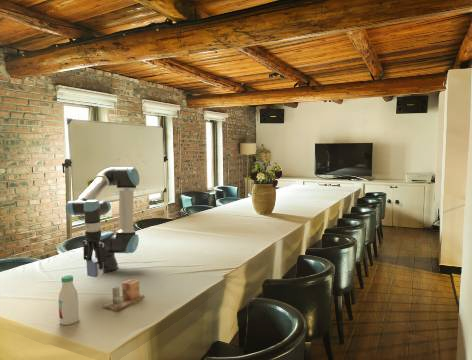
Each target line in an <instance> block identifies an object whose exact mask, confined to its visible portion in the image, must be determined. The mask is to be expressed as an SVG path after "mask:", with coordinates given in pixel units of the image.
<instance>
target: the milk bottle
mask: <svg viewBox="0 0 472 360" xmlns="http://www.w3.org/2000/svg"><path fill="white" fill-rule="evenodd" d="M61 284H62V285H61V288H60V291H59V294H58V315H59V317H58V318H59V319H58V320H59V323H60V325H63V326H68V325H72V324H75V323H77V322H78V321H79V319H80V311H79V310H80V309H79V296H78V290H77V289H76V287H75V285H74V275H70V274H69V275H64V276H62V277H61Z"/></svg>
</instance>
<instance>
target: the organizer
mask: <svg viewBox="0 0 472 360" xmlns="http://www.w3.org/2000/svg"><path fill="white" fill-rule="evenodd" d="M121 291H122V294H121V295H120V293H121ZM121 291H120V286H114V287H112V300H111V301H109V302H107V303H105V304H103V305H102V309H107V310H110V311H114V312H118V313H119V312H121V311H123V310H124V309H126V308H128V307H129V306H131V305H133V304H135V303H136V302H138V301H139V300H143V298H145V295H143V294H140V281H139V280H137V279H132V278H129V279H128V280H127V279H126V280H125V281H123V282H122V283H121Z"/></svg>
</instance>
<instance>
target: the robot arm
mask: <svg viewBox="0 0 472 360" xmlns="http://www.w3.org/2000/svg"><path fill="white" fill-rule="evenodd" d="M139 184H140V174H139V171H138V169H137V168H136V167H132V166H123V167H122V166H119V167H116V166H111V167H108V168H105V169H104V170H101V172H99V173H97V174H96V175H95V177H94V179H93V181H92V183H90V185H89V186H88V187H86V188H85V190H84V191H83V192H82V193H81V194H80V195H79V196H78V197H77V198H76V199H75V200H69V201H67V202H66V204H65V213H66V214H67V215H70V216H83V218H84V230H85V232H84V236H85V237H84V238H85V240H83V241H82V247H83V248H82V250H83V260H84V261H88V260H91V259H93V255H94V258H97V260H98V263H97V274H98V277H100V276H102V275H104V274H103V271H102V269H103V262H104V273H109V272H113V271H115V270H118V268H119V263H118V262H117V258H116V256H115V254H133V253H135V252H136V251H137V249H138V246H139V239H140V238H139V235H138V234H137V233H136V230H135V229H134V191H135V190H137V186H139ZM110 186H116V189H117V190H118V191H119V194H118V195H119V197H118V229H117V230H116V232H114V231H112V230H111V231H103V232H102V230H101V229H102V227H101V226H102V225H101V217H102V216H103V215H107V214H108V213H109V212H110V211H111V209H112V206H111V203H110V202H109V201H108V200H107V199H101V200H98V199H97V197H99V196H100V194H101V193H102V192H103V191H104V190H105V189H108V188H109V187H110ZM93 252H94V253H93ZM100 260H101V261H100Z"/></svg>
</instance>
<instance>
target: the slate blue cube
mask: <svg viewBox="0 0 472 360" xmlns="http://www.w3.org/2000/svg"><path fill="white" fill-rule="evenodd" d="M85 261H86V260H85ZM100 261H101V260H100ZM97 263H98V260H97V258H95V257H94V258H93V257H92V259H91V260H88V261H86V274H87V277H92V278H97V277H99V276H98V274H97ZM102 271H103V274H102V275H104V274H105V272H104V262H103V269H102Z"/></svg>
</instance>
